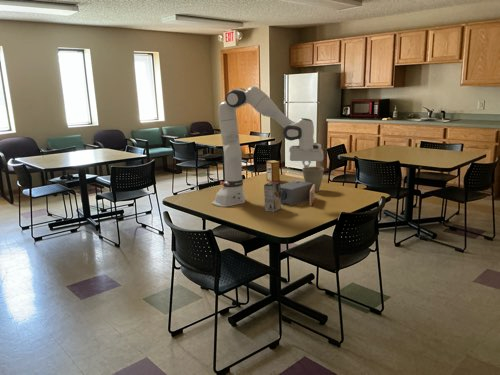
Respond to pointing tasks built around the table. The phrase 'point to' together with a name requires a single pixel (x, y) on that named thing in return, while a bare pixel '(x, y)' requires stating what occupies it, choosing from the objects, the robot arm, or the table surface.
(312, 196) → the side door
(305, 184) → the camera housing
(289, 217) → the table surface
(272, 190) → the coffee box
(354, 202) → the table surface
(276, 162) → the baking soda box
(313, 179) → the plant pot
